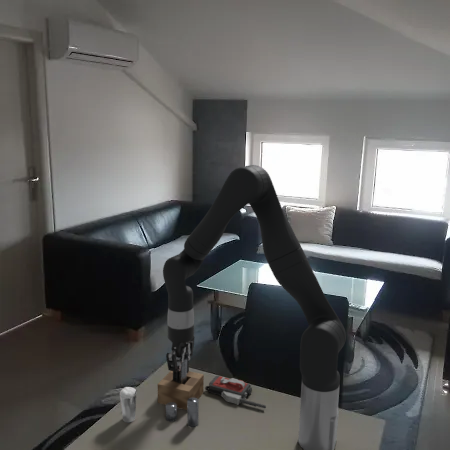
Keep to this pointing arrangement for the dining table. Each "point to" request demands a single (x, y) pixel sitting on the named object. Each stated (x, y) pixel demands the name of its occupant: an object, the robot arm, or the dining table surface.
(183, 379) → the pin long
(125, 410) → the milkshake
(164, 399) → the hole block
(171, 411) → the pin short
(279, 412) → the dining table surface
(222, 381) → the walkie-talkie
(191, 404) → the pin medium
